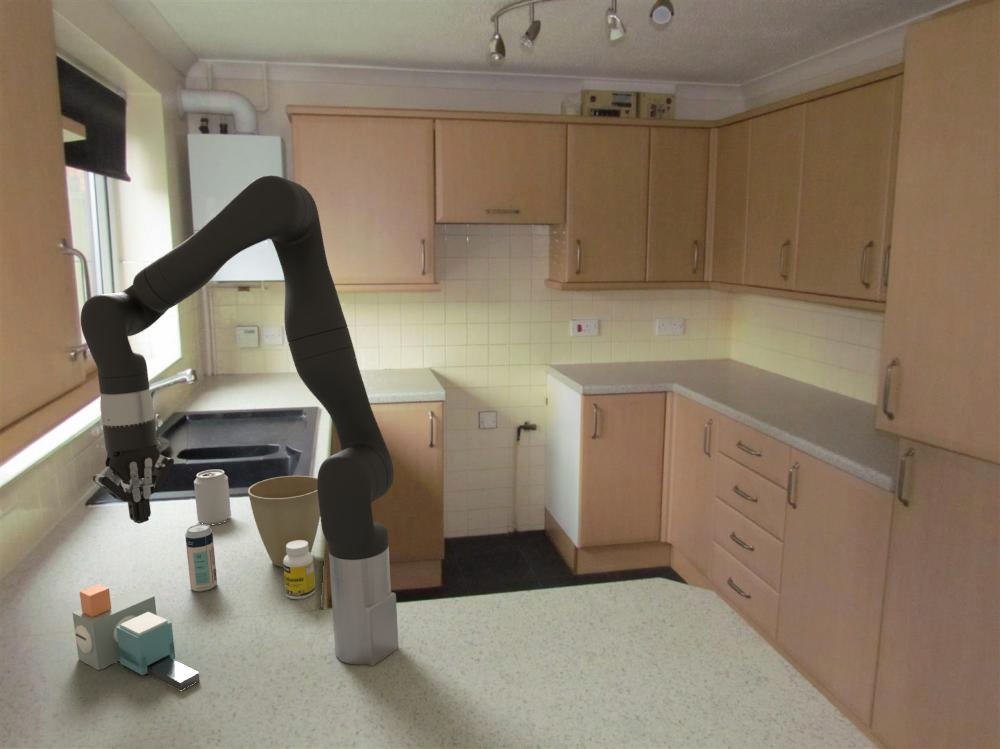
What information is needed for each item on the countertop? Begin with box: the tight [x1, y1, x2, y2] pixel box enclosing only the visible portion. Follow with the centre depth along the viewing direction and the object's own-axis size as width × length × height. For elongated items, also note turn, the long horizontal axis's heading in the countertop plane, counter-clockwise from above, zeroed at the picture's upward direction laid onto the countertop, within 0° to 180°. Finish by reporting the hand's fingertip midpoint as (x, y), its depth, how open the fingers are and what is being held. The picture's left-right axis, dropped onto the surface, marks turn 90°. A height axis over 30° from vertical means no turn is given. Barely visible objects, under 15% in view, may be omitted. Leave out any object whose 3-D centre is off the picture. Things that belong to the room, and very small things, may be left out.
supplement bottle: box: [283, 540, 316, 600], centre depth 135 cm, size 5×5×10 cm
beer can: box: [184, 523, 218, 593], centre depth 138 cm, size 5×5×12 cm
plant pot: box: [247, 475, 321, 568], centre depth 150 cm, size 15×15×16 cm
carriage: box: [116, 612, 176, 676], centre depth 113 cm, size 6×5×6 cm
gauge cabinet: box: [72, 587, 158, 671], centre depth 117 cm, size 6×10×8 cm, turn 147°
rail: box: [147, 656, 200, 691], centre depth 112 cm, size 16×3×2 cm, turn 57°
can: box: [193, 469, 232, 526], centre depth 173 cm, size 8×8×12 cm
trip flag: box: [79, 583, 111, 617], centre depth 114 cm, size 3×3×4 cm
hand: (141, 521), depth 119 cm, fingers closed
